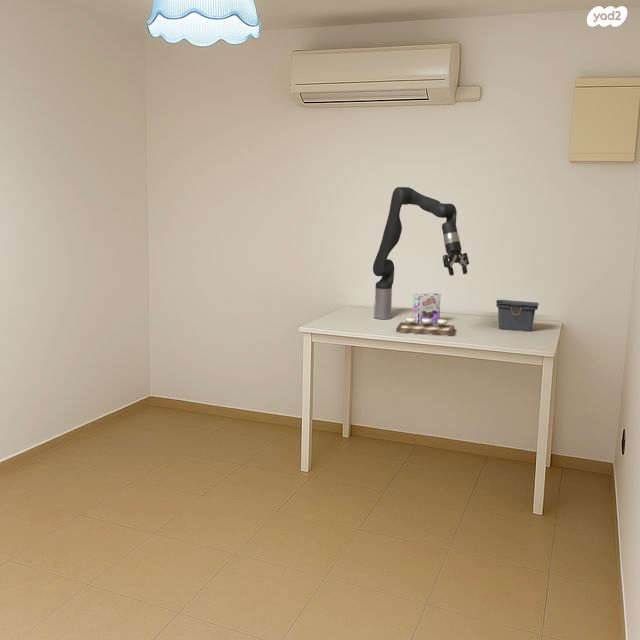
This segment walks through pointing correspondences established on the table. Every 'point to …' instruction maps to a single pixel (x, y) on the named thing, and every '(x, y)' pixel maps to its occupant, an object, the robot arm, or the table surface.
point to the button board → (425, 328)
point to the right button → (442, 321)
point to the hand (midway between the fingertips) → (458, 274)
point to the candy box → (426, 307)
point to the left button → (410, 320)
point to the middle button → (426, 320)
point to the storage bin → (516, 314)
